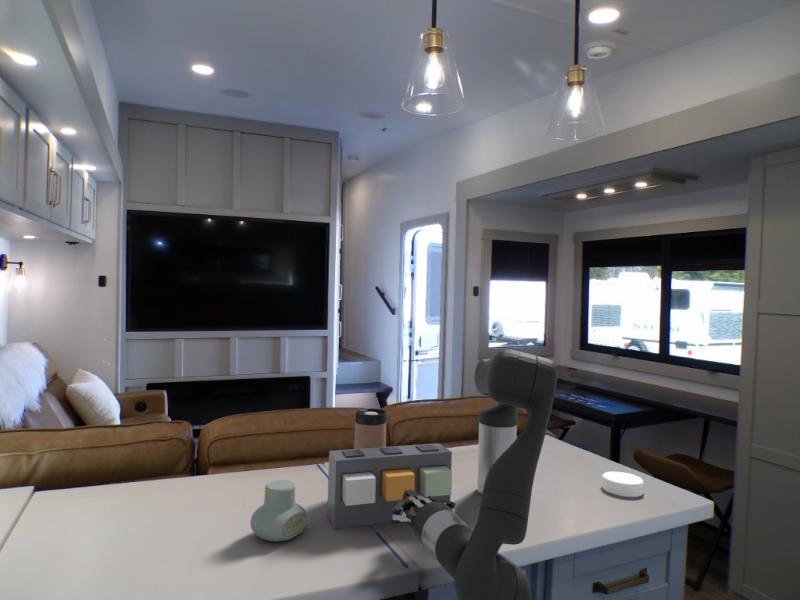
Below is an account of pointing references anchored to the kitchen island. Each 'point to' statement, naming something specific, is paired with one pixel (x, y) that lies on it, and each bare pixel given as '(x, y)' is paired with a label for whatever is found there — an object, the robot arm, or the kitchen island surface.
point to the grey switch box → (377, 479)
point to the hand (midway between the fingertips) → (407, 494)
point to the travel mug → (370, 429)
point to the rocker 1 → (358, 488)
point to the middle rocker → (396, 483)
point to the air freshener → (279, 513)
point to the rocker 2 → (434, 480)
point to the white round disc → (622, 484)
